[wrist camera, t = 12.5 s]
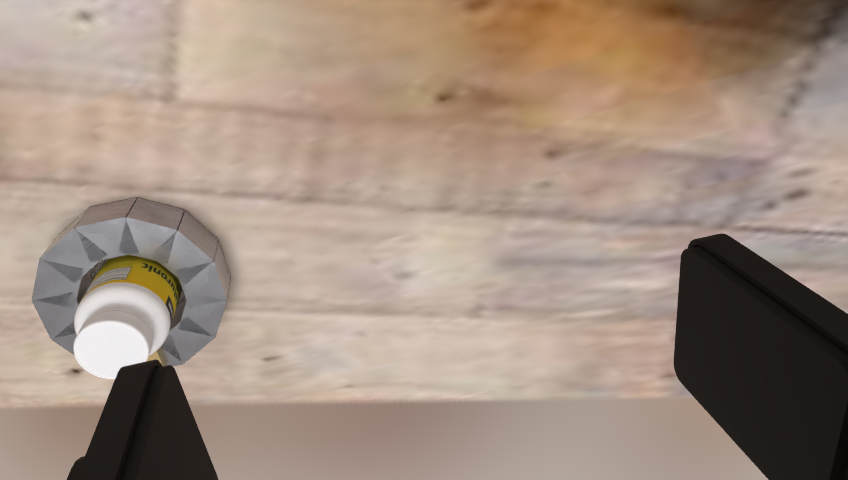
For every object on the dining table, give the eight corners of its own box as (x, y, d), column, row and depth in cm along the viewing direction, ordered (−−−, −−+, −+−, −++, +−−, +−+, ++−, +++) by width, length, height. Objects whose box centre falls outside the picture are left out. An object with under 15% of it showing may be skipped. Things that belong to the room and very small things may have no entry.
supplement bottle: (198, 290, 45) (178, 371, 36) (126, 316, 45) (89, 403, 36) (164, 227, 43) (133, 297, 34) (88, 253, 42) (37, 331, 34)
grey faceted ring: (23, 219, 41) (-4, 247, 37) (201, 184, 42) (192, 207, 38) (90, 359, 46) (72, 396, 42) (245, 323, 47) (242, 356, 43)
